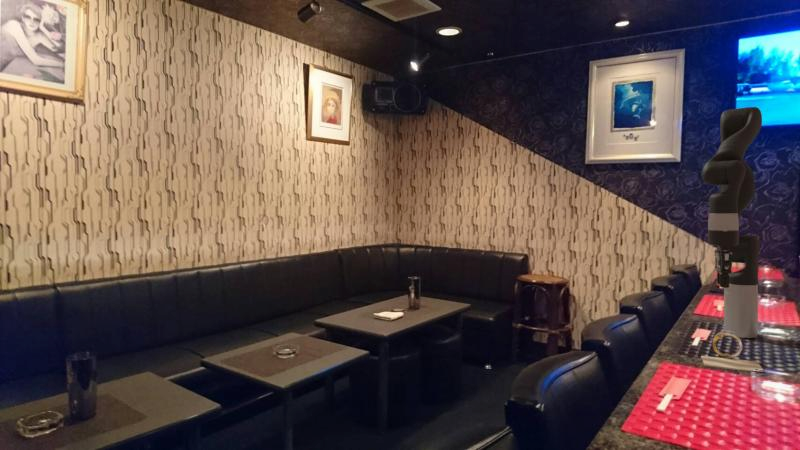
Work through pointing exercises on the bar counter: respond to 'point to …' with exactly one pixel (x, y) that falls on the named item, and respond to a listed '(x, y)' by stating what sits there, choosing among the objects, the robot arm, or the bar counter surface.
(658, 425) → the bar counter surface
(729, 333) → the ring
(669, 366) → the bar counter surface
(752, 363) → the birch board
